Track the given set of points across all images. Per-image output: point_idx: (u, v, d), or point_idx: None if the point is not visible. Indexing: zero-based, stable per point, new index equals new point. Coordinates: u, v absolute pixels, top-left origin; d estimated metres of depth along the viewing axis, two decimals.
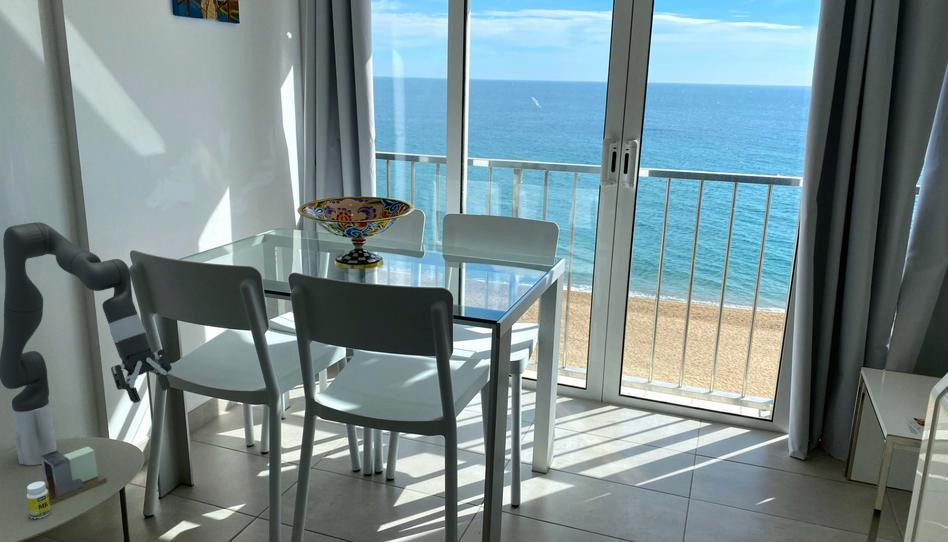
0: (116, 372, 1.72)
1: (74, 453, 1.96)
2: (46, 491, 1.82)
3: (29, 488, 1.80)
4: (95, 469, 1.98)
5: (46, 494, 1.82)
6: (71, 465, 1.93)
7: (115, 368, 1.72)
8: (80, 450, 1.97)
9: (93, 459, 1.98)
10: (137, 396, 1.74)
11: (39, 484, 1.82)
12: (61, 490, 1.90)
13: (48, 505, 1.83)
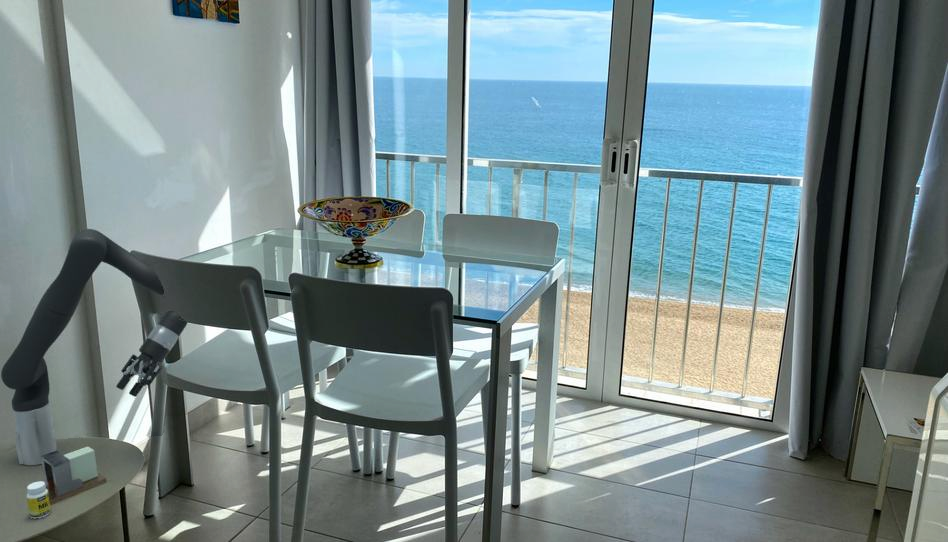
0: (156, 371, 2.03)
1: (74, 453, 1.96)
2: (46, 491, 1.82)
3: (29, 488, 1.80)
4: (95, 469, 1.98)
5: (46, 494, 1.82)
6: (71, 465, 1.93)
7: (159, 369, 2.04)
8: (80, 450, 1.97)
9: (93, 459, 1.98)
10: None
11: (39, 484, 1.82)
12: (61, 490, 1.90)
13: (48, 505, 1.83)
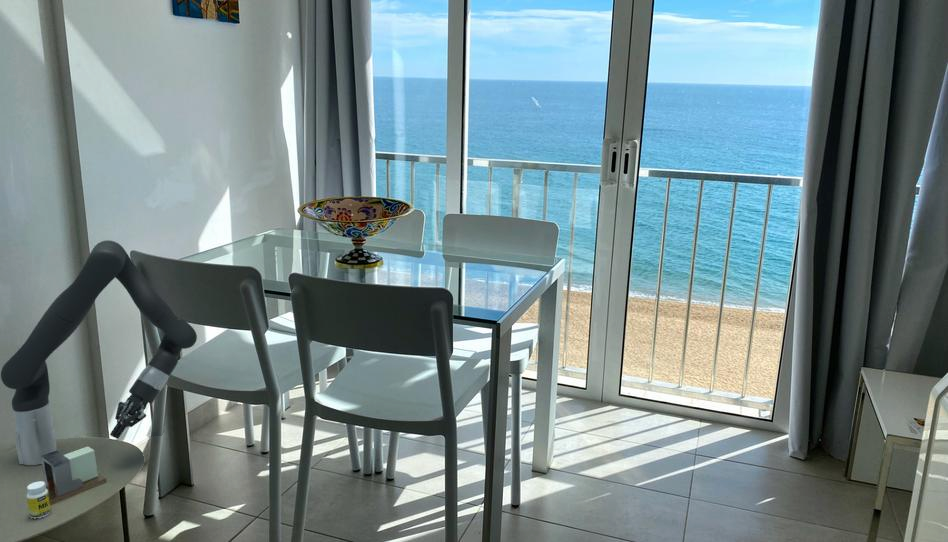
0: (140, 418, 2.03)
1: (74, 453, 1.96)
2: (46, 491, 1.82)
3: (29, 488, 1.80)
4: (95, 469, 1.98)
5: (46, 494, 1.82)
6: (71, 465, 1.93)
7: (143, 417, 2.03)
8: (80, 450, 1.97)
9: (93, 459, 1.98)
10: None
11: (39, 484, 1.82)
12: (61, 490, 1.90)
13: (48, 505, 1.83)
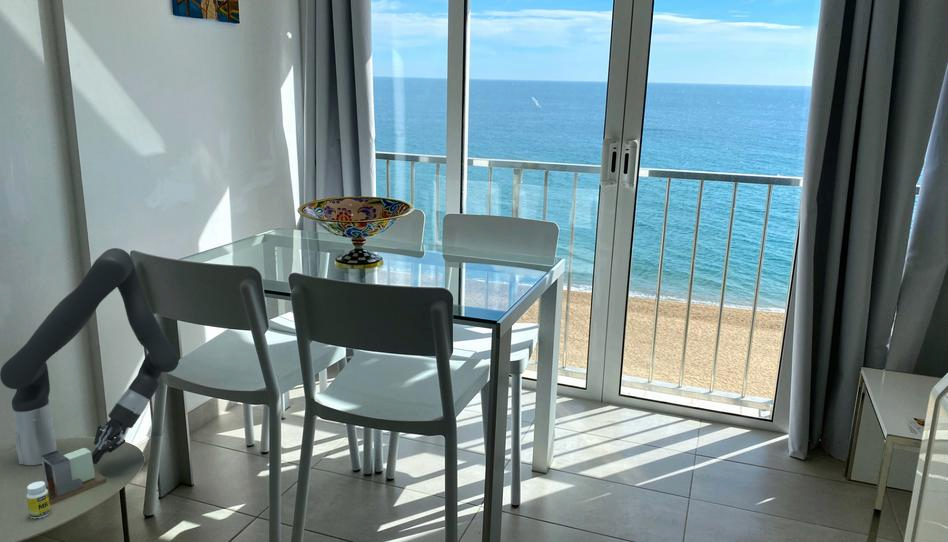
0: (119, 444, 1.99)
1: (71, 454, 1.95)
2: (46, 491, 1.82)
3: (29, 488, 1.80)
4: (92, 470, 1.98)
5: (46, 494, 1.82)
6: None
7: (122, 442, 1.99)
8: (77, 451, 1.97)
9: (90, 460, 1.97)
10: None
11: (39, 484, 1.82)
12: (61, 490, 1.90)
13: (48, 505, 1.83)
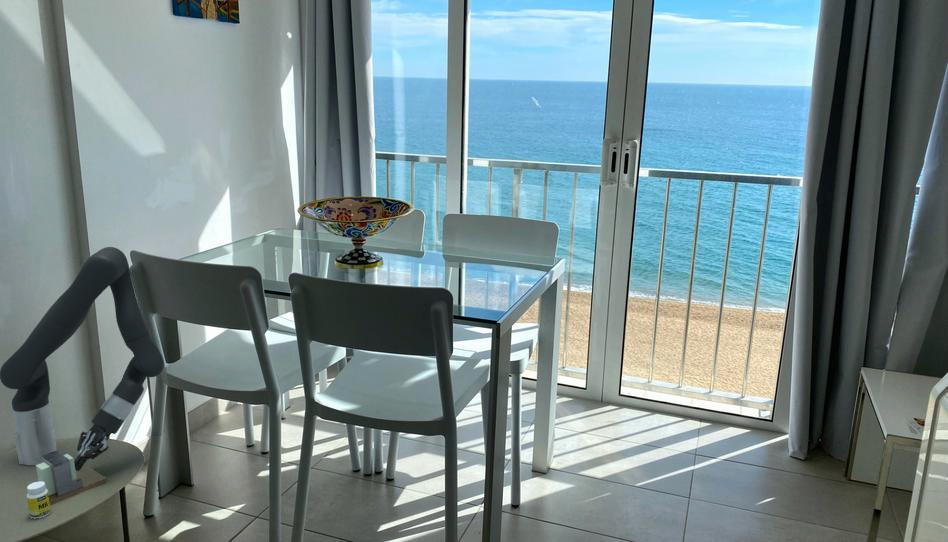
0: (102, 450, 1.96)
1: None
2: (46, 491, 1.82)
3: (29, 488, 1.80)
4: (74, 477, 1.94)
5: (46, 494, 1.82)
6: (49, 473, 1.89)
7: (105, 449, 1.96)
8: None
9: (73, 466, 1.93)
10: None
11: (39, 484, 1.82)
12: (61, 490, 1.90)
13: (48, 505, 1.83)
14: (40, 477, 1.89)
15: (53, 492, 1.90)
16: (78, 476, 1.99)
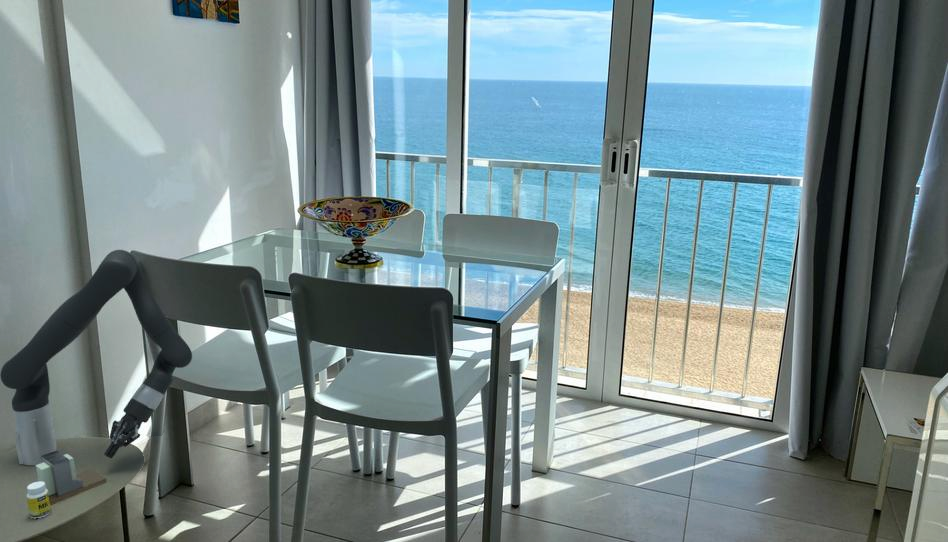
0: (134, 438, 2.02)
1: None
2: (46, 491, 1.82)
3: (29, 488, 1.80)
4: (74, 477, 1.94)
5: (46, 494, 1.82)
6: (49, 473, 1.89)
7: (137, 437, 2.02)
8: None
9: (73, 466, 1.93)
10: None
11: (39, 484, 1.82)
12: (61, 490, 1.90)
13: (48, 505, 1.83)
14: (40, 477, 1.89)
15: (53, 492, 1.90)
16: (78, 476, 1.99)
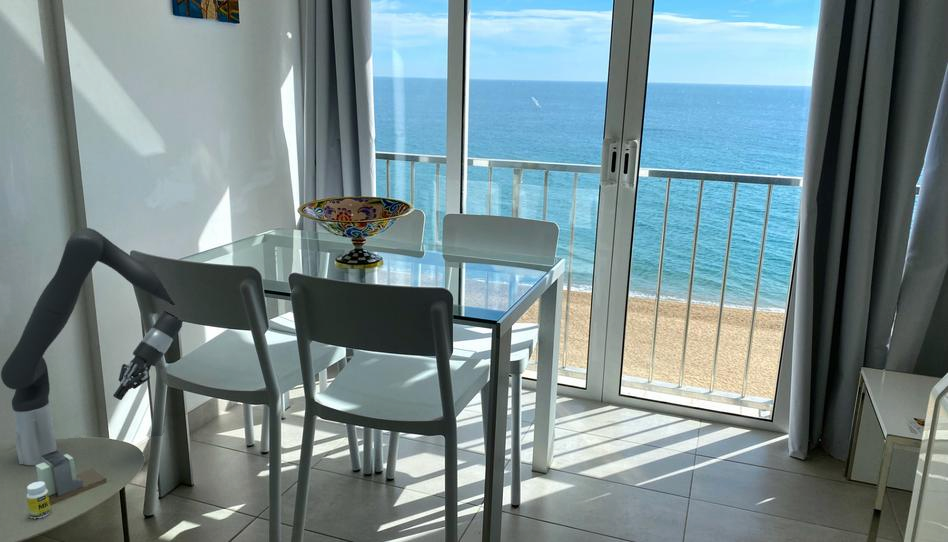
0: (143, 380, 2.02)
1: None
2: (46, 491, 1.82)
3: (29, 488, 1.80)
4: (74, 477, 1.94)
5: (46, 494, 1.82)
6: (49, 473, 1.89)
7: (146, 379, 2.02)
8: None
9: (73, 466, 1.93)
10: None
11: (39, 484, 1.82)
12: (61, 490, 1.90)
13: (48, 505, 1.83)
14: (40, 477, 1.89)
15: (53, 492, 1.90)
16: (78, 476, 1.99)
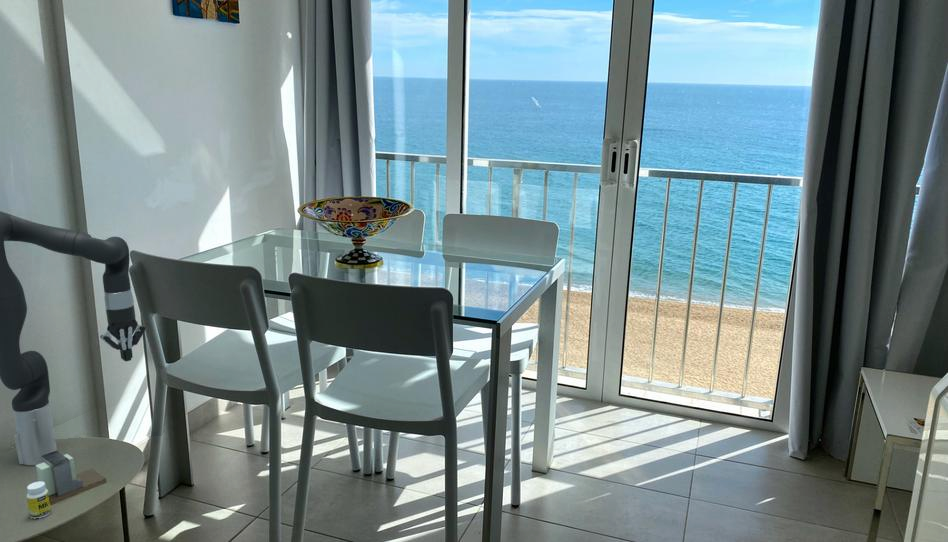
0: (106, 341, 2.05)
1: None
2: (46, 491, 1.82)
3: (29, 488, 1.80)
4: (74, 477, 1.94)
5: (46, 494, 1.82)
6: (49, 473, 1.89)
7: (104, 339, 2.04)
8: None
9: (73, 466, 1.93)
10: (127, 357, 2.10)
11: (39, 484, 1.82)
12: (61, 490, 1.90)
13: (48, 505, 1.83)
14: (40, 477, 1.89)
15: (53, 492, 1.90)
16: (78, 476, 1.99)
